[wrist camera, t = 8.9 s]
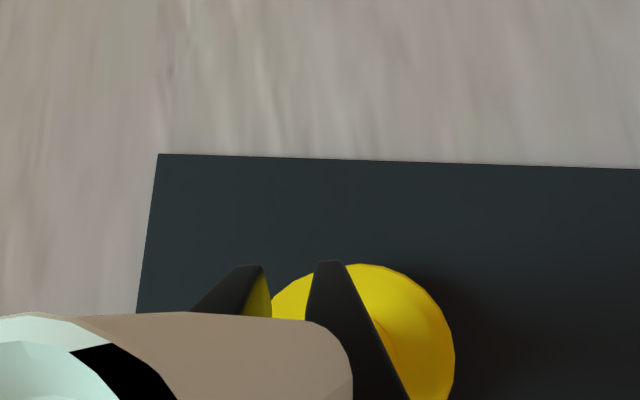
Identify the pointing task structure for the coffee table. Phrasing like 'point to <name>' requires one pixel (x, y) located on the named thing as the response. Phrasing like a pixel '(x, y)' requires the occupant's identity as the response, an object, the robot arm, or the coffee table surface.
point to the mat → (428, 255)
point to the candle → (225, 350)
